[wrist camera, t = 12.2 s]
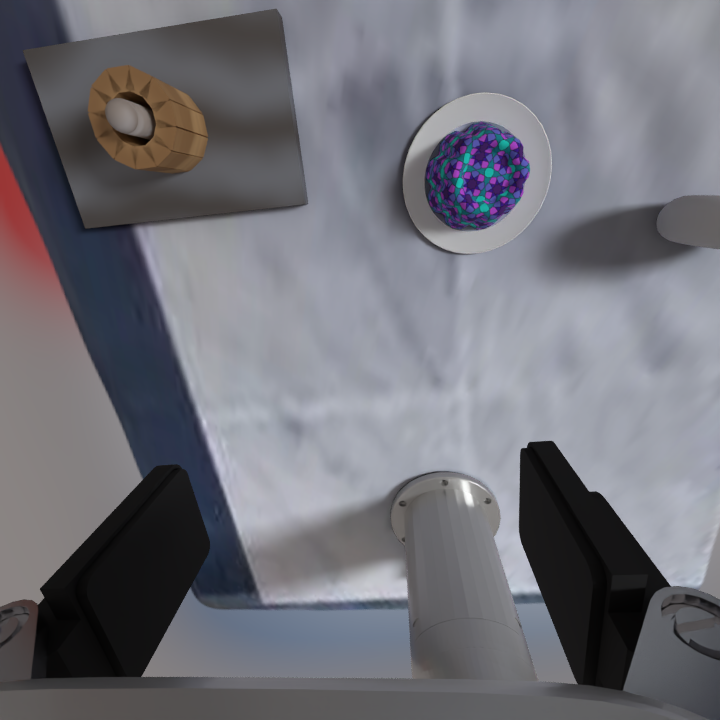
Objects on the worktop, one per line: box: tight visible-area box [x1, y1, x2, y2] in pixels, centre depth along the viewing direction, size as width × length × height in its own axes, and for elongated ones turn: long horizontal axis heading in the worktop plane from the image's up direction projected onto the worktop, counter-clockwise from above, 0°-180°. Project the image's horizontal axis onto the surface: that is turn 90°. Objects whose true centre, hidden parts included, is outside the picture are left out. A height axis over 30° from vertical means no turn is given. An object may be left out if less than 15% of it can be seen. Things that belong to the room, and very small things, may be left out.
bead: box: [88, 65, 208, 174], centre depth 29 cm, size 6×6×5 cm
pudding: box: [403, 93, 552, 254], centre depth 30 cm, size 12×12×5 cm
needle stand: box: [23, 9, 308, 229], centre depth 29 cm, size 13×20×8 cm, turn 96°
